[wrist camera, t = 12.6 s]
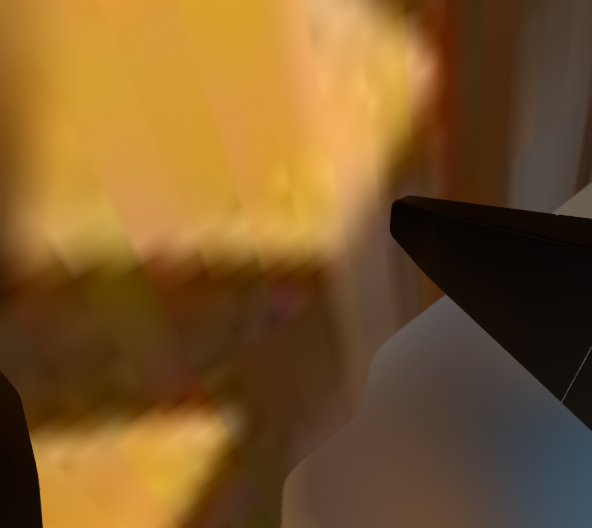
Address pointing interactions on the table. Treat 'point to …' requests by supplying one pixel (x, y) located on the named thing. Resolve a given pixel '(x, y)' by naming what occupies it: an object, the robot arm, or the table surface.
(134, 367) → the table surface
